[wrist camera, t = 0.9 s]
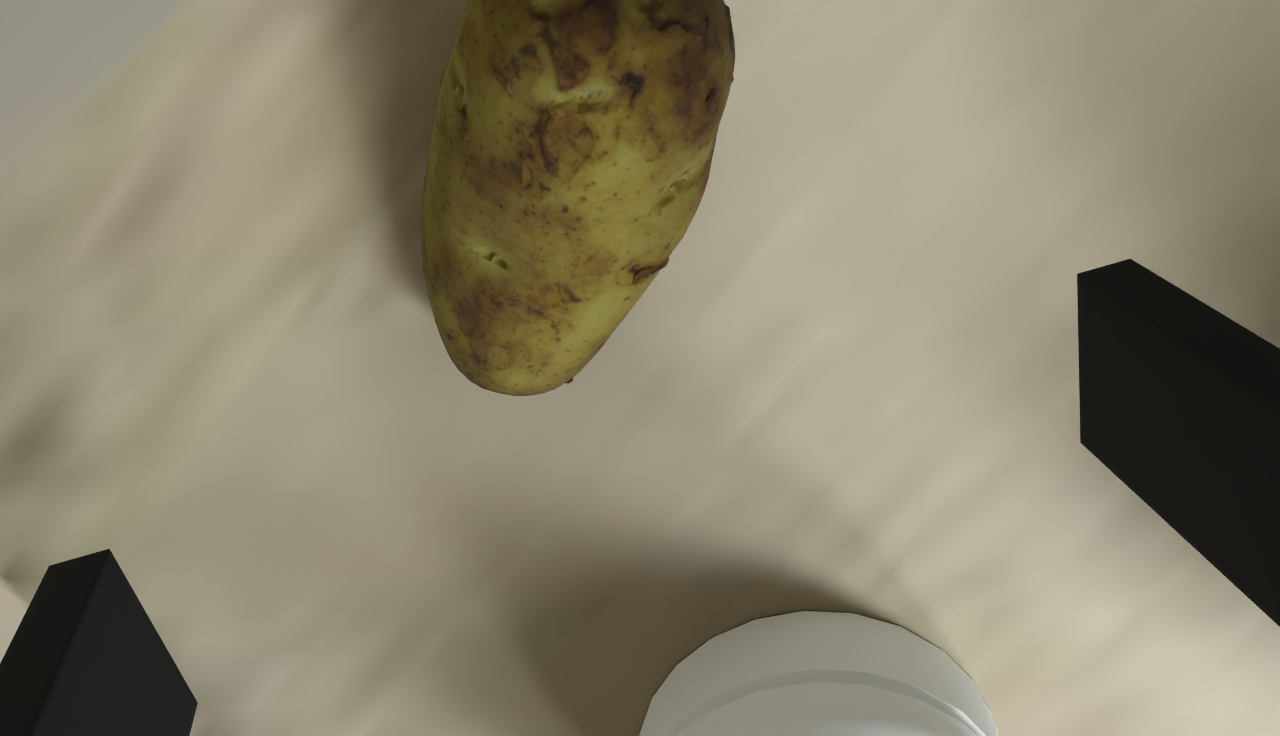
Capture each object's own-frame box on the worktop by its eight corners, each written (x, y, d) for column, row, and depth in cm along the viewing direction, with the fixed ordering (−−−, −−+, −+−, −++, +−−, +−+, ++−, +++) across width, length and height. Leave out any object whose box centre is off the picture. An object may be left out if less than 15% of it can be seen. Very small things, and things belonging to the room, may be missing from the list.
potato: (333, 222, 33) (219, 297, 25) (598, -136, 29) (556, -172, 21) (546, 390, 34) (497, 508, 27) (826, 72, 30) (861, 107, 23)
